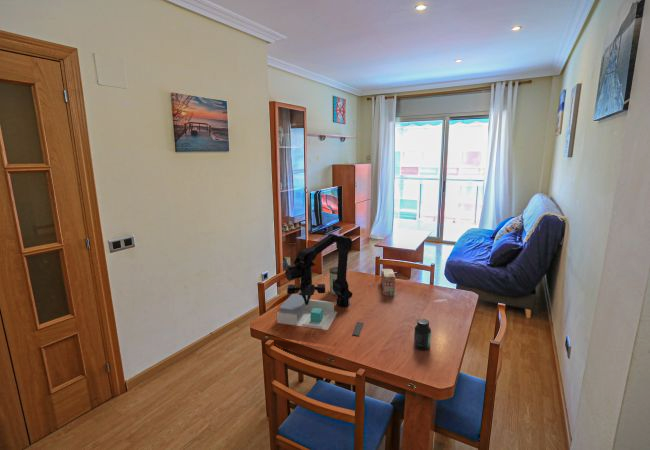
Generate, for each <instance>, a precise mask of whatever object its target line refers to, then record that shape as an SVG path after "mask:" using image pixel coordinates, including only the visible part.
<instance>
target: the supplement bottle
mask: <svg viewBox="0 0 650 450" xmlns="http://www.w3.org/2000/svg"><path fill="white" fill-rule="evenodd" d="M413 331H414V334H413V336H414V337H413V346H414V348H415V349H417V350H419V351H428V350H430V348H431V340H432V339H431V336H432V329H431V327H430V322H429V320H428V319H425V318H419V319H417V321H416V325H415V326H414V330H413Z"/></svg>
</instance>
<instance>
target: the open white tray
mask: <svg viewBox="0 0 650 450" xmlns="http://www.w3.org/2000/svg"><path fill="white" fill-rule="evenodd" d="M313 308H319V309H323V319H322V321H321V322H320V323H318V322H311V316H310V312H311V311H312V309H313ZM337 314H338V311H335V302H334V301H326V300H316V299H310V300H309V302H308V305H305V306H304V307H303V309H302V310H301V311H300V312H299V314H293V313H286V312H279V311H278V312H277V313H276V319H277V320H276V321H277V322H276V323H277V324H284V325H290V326H297V327H303V328H310V329H317V330H325V331H328V330H329V329H330V327H331V325H332V324H333V321H334V319H335V318H336V316H337Z"/></svg>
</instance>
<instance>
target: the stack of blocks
mask: <svg viewBox="0 0 650 450" xmlns="http://www.w3.org/2000/svg"><path fill="white" fill-rule="evenodd" d="M380 278H381V279H380V283H381V287H382V293H383V296H391V297H393V296H395V291H396V290H395V289H396V287H395V286H396V275H395V272H394V270H393V269H392V268H381V269H380Z"/></svg>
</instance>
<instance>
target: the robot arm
mask: <svg viewBox="0 0 650 450" xmlns="http://www.w3.org/2000/svg"><path fill="white" fill-rule="evenodd" d="M333 244H335V246H336V249H337V252H338V258H337V259H338V260H337V267H338V270H337V279H336V280H335V281H333V287H332V288H333V291H334V292H335V294H336V299H335V301H336V306H338V307H341V308H347V307H350V306H351V303H350V299H351V298H352V297H353V292H352V291H350V290H349V289H350V288H349V282H348V281H347V273H348V272H347V271H348V258H349V257H348V256H349V252H351V249H352V246H353V240H352V238H351V237H348V236H344V235H337V234H335V233H328V234H327V235H326V236H324V238H322V239H321V240H319V241H318V242H316V243H315V244H314V245H312V246H309V247H306V248H303V249H300V250H299V251H298V253H297V256H296V257H295V259H294V262H293V265H288V266H287V267H286V269H285V272H284V275H285V278H286V279H287V281H289V282H291V281H293V280H297V279H300V285H299V286H296V284H288V285H287V290H286V292H287V294H288V295H292V294H296V292H298V294H299V295H301V296H302V297H303V299H304V301H305V304H306V305H308V302H309V299H310V300H311V297H312V296H313V295H315V291H316V292H317V293H318V294H326V284H324V283H318V284H316V285H317V286H315V284H313V274H312V273H313V270H312V267H314V266H316V264H315V263H314V260H315V259H316V258H317V256H318V255H319V254H320V253H322V252H323V251H324V250H326V249H327V248H329V247H331V246H332V245H333ZM335 294H334V295H335ZM306 295H308V296H307V298H306Z"/></svg>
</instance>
